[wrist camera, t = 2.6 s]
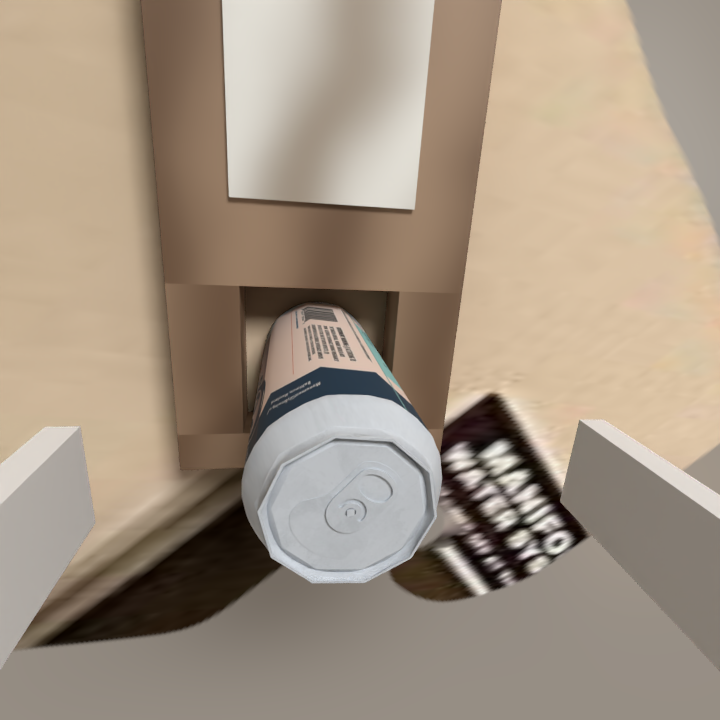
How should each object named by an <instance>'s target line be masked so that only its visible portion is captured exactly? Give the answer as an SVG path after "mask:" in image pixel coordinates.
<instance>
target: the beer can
mask: <svg viewBox="0 0 720 720" xmlns="http://www.w3.org/2000/svg"><path fill="white" fill-rule="evenodd" d="M441 482H442V472H441V460H440V454H439V451H438V449H437V447H436V444H435V442H434V439H433V437H432V435H431V433H430V432H429V431H428V429H427V427H426V426H425V424H424V423H423V421H422V420H421V418H420V417H419V415H418V413H417V412H416V410H415V409H414V407H413V406H412V404H411V403H410V401H409V400H408V398H407V396H406V395H405V393H404V392H403V390H402V389H401V387H400V386H399V384H398V382H397V381H396V379H395V378H394V376H393V375H392V373H391V372H390V370H389V368H388V367H387V365H386V364H385V362H384V361H383V359H382V358H381V356H380V355H379V353H378V351H377V350H376V348H375V347H374V345H373V344H372V342H371V341H370V339H369V337H368V336H367V334H366V333H365V331H364V330H363V328H362V327H361V325H360V324H359V323H358V322H357V320H356V319H355V318H354V317H353V316H352V315H351V314H350V313H348V312H347V311H346V310H344V309H343V308H341V307H339V306H337V305H334V304H331V303H326V302H308V303H303V304H300V305H297V306H294V307H293V308H291V309H289V310H288V311H286V312H284V313H283V314H282V315H281V316H280V317H279V318H278V319H277V320H276V321H275V323H274V324H273V325H272V327H271V329H270V331H269V333H268V335H267V339H266V343H265V347H264V353H263V359H262V365H261V371H260V377H259V382H258V388H257V394H256V400H255V406H254V412H253V418H252V423H251V429H250V435H249V441H248V447H247V453H246V459H245V464H244V470H243V476H242V500H243V504H244V508H245V511H246V515H247V518H248V520H249V523H250V525H251V526H252V528H253V530H254V531H255V533H256V534H257V536H258V538H259V539H260V540H261V541H262V543H263V544H264V545H265V546H266V548H267V549H268V550H269V553H270V557H271V558H272V559H274V560H276V561H277V562H279V563H280V564H282V565H284V566H285V567H287V568H289V569H290V570H292V571H294V572H295V573H297V574H298V575H300V576H301V577H303V578H305V579H307V580H308V581H310V582H311V583H365V582H367V581H369V580H371V579H373V578H375V577H376V576H379V575H380V574H382V573H384V572H386V571H388V570H390V569H392V568H394V567H396V566H397V565H399V564H401V563H403V562H405V561H407V560H409V559H411V558H412V556H413V555H414V553H415V551H416V550H417V548H418V547H419V545H420V543H421V542H422V540H423V539H424V537H425V535H426V534H427V532H428V531H429V529H430V527H431V526H432V524H433V523H434V521H435V519H436V518H437V512H436V508H437V504H438V500H439V495H440V489H441Z"/></svg>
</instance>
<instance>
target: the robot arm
mask: <svg viewBox="0 0 720 720" xmlns="http://www.w3.org/2000/svg"><path fill="white" fill-rule="evenodd" d="M560 502H561V503H562V504H563V505H564V506H565V507H566V508H567V509H568V510H569V511H570V513H571V514H572V515H573V516H574V517H575V518H576V519H577V520H578V521H579V522H580V523H581V524H582V525H583V526H584V527H585V528H586V530H587V531H588V532H589V533H590V534H591V535H592V536H593V537H594V538H595V539H596V540H597V541H598V542H599V543H600V544H601V545H602V547H603V548H604V549H605V550H606V551H607V552H608V553H609V554H610V555H611V556H612V557H613V558H614V559H615V560H616V561H617V562H618V564H619V565H621V567H622V568H623V569H624V570H625V571H626V572H627V573H628V574H629V575H630V576H631V577H632V578H633V579H634V580H635V582H636V583H637V584H638V585H639V586H640V587H641V588H642V589H643V590H644V591H645V592H646V593H647V594H648V595H649V597H650V598H651V599H652V600H653V601H654V602H655V603H656V604H657V605H658V606H659V607H660V608H661V609H662V610H663V611H664V612H665V614H667V615H668V617H669V618H670V619H671V620H672V621H673V622H674V623H675V624H676V625H677V626H678V627H679V628H680V629H681V630H682V632H683V633H684V634H685V635H686V636H687V637H688V638H689V639H690V640H691V641H692V642H693V643H694V644H695V645H696V646H697V648H698V649H699V650H700V651H701V652H702V653H703V654H704V655H705V656H706V657H707V658H708V659H709V660H710V661H711V662H712V663H713V665H714V666H715V667H716V668H717V669H718V670H719V671H720V495H719V494H717V493H716V492H714V491H713V490H711V489H710V488H708V487H706V486H705V485H703V484H702V483H700V482H699V481H697V480H696V479H694V478H693V477H691V476H689V475H688V474H686V473H685V472H683V471H682V470H680V469H679V468H677V467H676V466H674V465H673V464H671V463H670V462H668V461H666V460H665V459H663V458H662V457H660V456H659V455H657V454H656V453H654V452H653V451H651V450H650V449H648V448H647V447H645V446H643V445H642V444H640V443H639V442H637V441H636V440H634V439H633V438H631V437H630V436H628V435H627V434H625V433H623V432H622V431H620V430H619V429H617V428H616V427H614V426H613V425H611V424H610V423H608V422H607V421H605V420H579V424H578V428H577V432H576V437H575V441H574V445H573V449H572V453H571V457H570V462H569V466H568V470H567V474H566V478H565V483H564V487H563V491H562V495H561V499H560ZM94 524H95V516H94V510H93V504H92V497H91V491H90V485H89V478H88V472H87V466H86V459H85V453H84V447H83V440H82V434H81V428H80V426H74V427H44V428H43V429H42V430H41V431H39V432H38V433H37V434H36V435H35V436H33V437H32V438H31V439H30V440H29V441H28V442H26V443H25V444H24V445H23V446H22V447H20V448H19V449H18V450H17V451H16V452H14V453H13V454H12V455H11V456H10V457H9V458H7V459H6V460H5V461H4V462H3V463H1V464H0V669H1V668H2V666H3V665H4V663H5V662H6V660H7V659H8V657H9V655H10V654H11V652H12V651H13V649H14V648H15V646H16V645H17V643H18V642H19V640H20V639H21V637H22V635H23V634H24V632H25V631H26V629H27V628H28V626H29V625H30V623H31V622H32V620H33V618H34V617H35V615H36V614H37V612H38V611H39V609H40V608H41V606H42V605H43V603H44V601H45V600H46V598H47V597H48V595H49V594H50V592H51V591H52V589H53V588H54V586H55V585H56V583H57V581H58V580H59V578H60V577H61V575H62V574H63V572H64V571H65V569H66V568H67V566H68V564H69V563H70V561H71V560H72V558H73V557H74V555H75V554H76V552H77V551H78V549H79V547H80V546H81V544H82V543H83V541H84V540H85V538H86V537H87V535H88V534H89V532H90V530H91V529H92V527H93V526H94Z"/></svg>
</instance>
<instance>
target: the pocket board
mask: <svg viewBox="0 0 720 720" xmlns="http://www.w3.org/2000/svg"><path fill="white" fill-rule="evenodd" d="M501 3H502V0H141V8H142V20H143V32H144V44H145V55H146V67H147V79H148V91H149V103H150V115H151V126H152V138H153V150H154V162H155V174H156V186H157V198H158V209H159V221H160V233H161V245H162V257H163V269H164V281H165V292H166V304H167V316H168V328H169V340H170V352H171V363H172V375H173V387H174V399H175V411H176V423H177V435H178V446H179V458H180V470H198V469H226V468H244V464H245V459H246V453H247V447H248V441H249V435H250V429H251V423H252V418H253V412H248V400H247V360H246V321H245V286H256V287H285V288H314V289H344V290H373V291H387V303H386V315H385V328H384V340H383V352H382V359H383V361H384V362H385V364H386V365H387V367H388V368H389V370H390V372H391V373H392V375H393V376H394V378H395V379H396V381H397V382H398V384H399V386H400V387H401V389H402V390H403V392H404V393H405V395H406V396H407V398H408V400H409V401H410V403H411V404H412V406H413V407H414V409H415V410H416V412H417V413H418V415H419V417H420V418H421V420H422V421H423V423H424V424H425V426H426V427H427V429H428V431H429V432H430V433H431V435H432V437H433V439H434V442H435V444H436V447H437V449H438V451H439V454H440V449H441V442H442V434H443V427H444V420H445V412H446V405H447V398H448V390H449V383H450V376H451V369H452V361H453V354H454V347H455V339H456V332H457V325H458V317H459V310H460V303H461V295H462V288H463V281H464V274H465V266H466V259H467V252H468V244H469V237H470V230H471V222H472V215H473V208H474V200H475V193H476V186H477V178H478V171H479V164H480V157H481V149H482V142H483V135H484V127H485V120H486V113H487V105H488V98H489V91H490V83H491V76H492V69H493V62H494V54H495V47H496V40H497V32H498V25H499V18H500V10H501Z"/></svg>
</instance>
